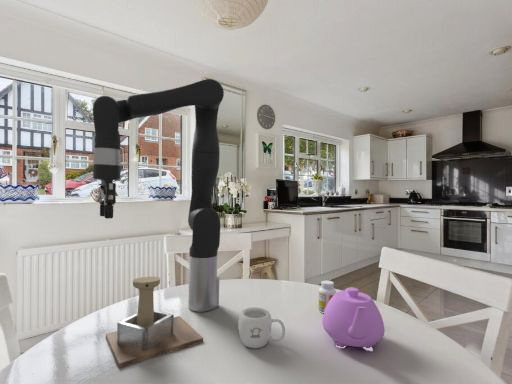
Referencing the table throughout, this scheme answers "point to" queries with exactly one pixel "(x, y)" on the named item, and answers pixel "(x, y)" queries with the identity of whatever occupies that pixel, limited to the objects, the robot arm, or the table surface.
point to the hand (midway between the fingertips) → (106, 217)
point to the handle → (145, 299)
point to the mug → (257, 327)
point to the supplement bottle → (325, 294)
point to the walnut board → (177, 340)
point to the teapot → (353, 319)
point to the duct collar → (145, 331)
